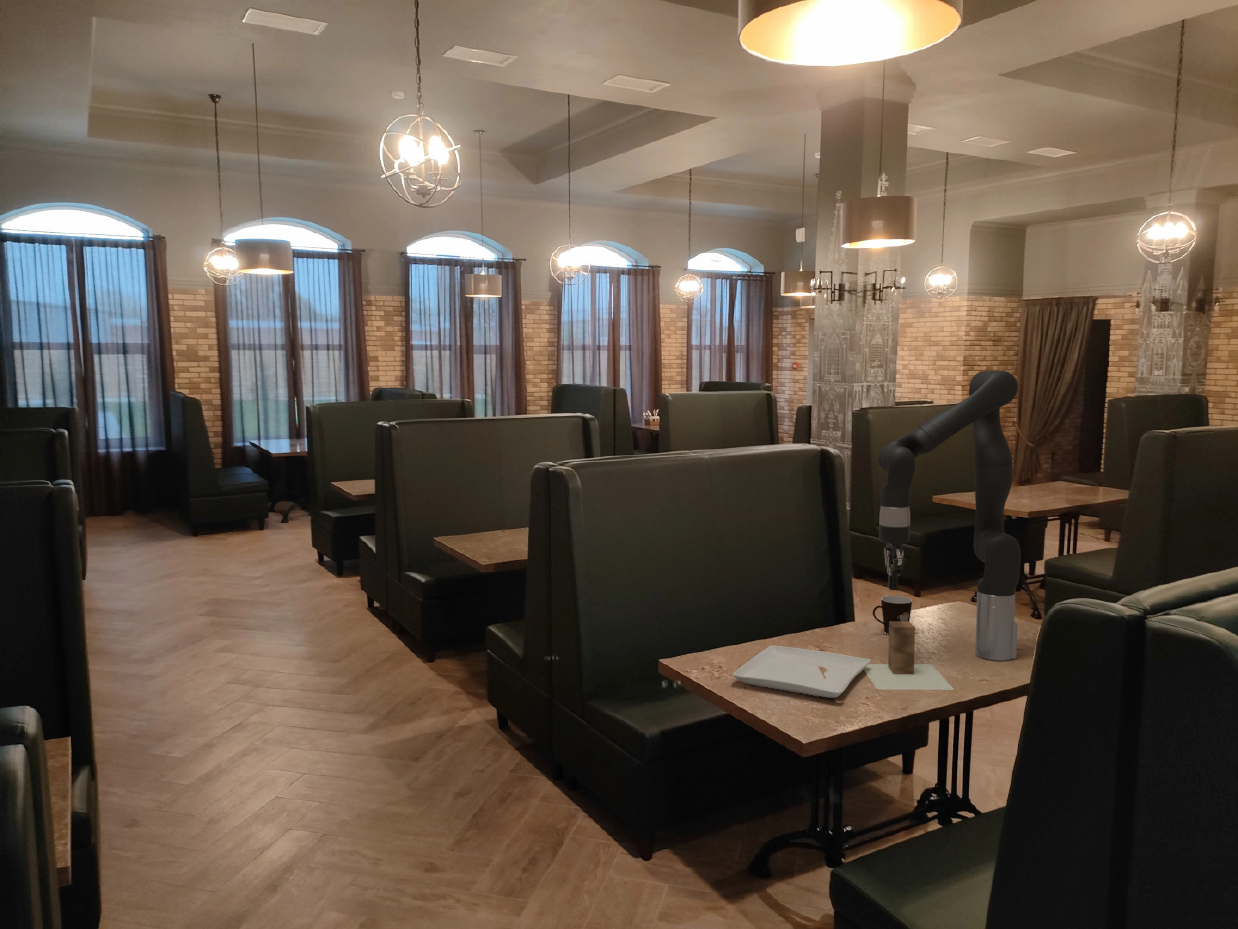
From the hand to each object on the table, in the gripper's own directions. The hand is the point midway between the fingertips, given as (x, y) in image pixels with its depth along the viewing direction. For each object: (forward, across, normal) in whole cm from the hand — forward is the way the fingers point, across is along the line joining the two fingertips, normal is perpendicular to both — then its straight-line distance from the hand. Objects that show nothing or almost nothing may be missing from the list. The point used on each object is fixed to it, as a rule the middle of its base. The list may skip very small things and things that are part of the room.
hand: (893, 589), depth 224 cm
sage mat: (+19, -13, 0) cm, 23 cm away
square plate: (+20, -13, +25) cm, 35 cm away
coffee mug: (+19, +25, -6) cm, 32 cm away
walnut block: (+19, -9, 0) cm, 21 cm away
